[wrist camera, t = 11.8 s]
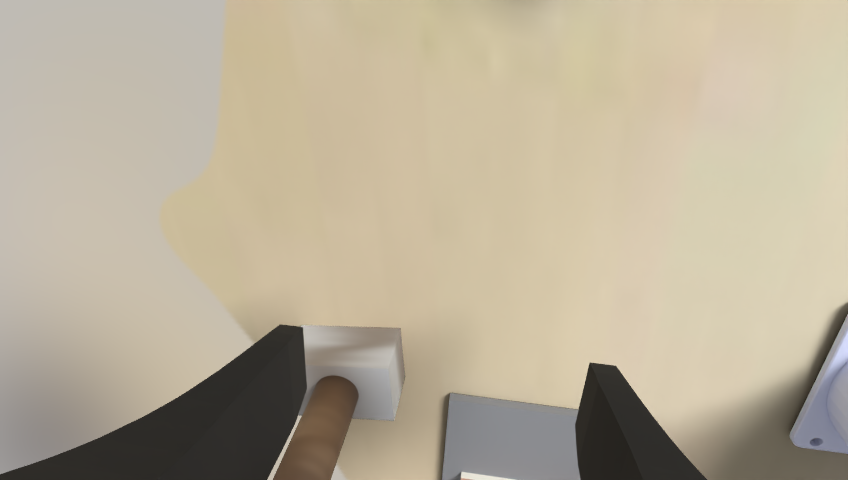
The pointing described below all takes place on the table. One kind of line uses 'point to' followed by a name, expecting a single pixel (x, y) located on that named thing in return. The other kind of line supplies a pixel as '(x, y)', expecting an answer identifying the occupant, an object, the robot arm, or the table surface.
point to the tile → (480, 477)
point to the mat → (509, 440)
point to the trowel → (342, 393)
